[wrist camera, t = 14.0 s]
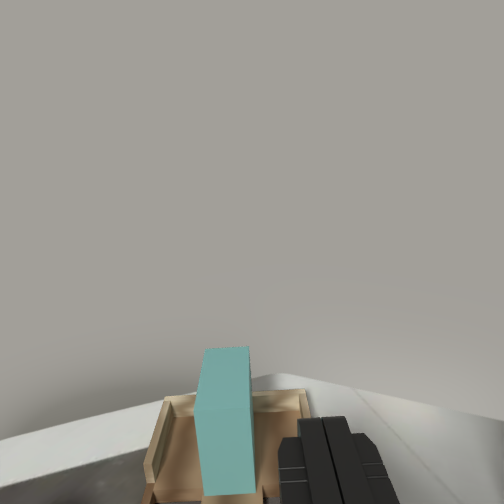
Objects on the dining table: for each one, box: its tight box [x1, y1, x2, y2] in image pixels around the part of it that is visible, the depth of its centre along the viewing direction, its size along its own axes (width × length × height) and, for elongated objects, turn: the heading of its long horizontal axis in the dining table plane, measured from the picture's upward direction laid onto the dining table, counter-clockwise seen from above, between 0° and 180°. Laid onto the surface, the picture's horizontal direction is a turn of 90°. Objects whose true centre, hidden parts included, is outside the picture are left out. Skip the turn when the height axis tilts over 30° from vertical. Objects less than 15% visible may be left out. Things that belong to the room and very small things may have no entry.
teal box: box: [193, 346, 256, 496], centre depth 47 cm, size 6×12×12 cm, turn 1°
